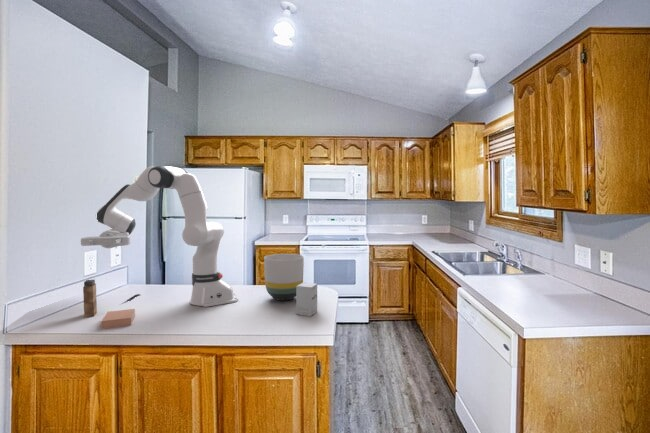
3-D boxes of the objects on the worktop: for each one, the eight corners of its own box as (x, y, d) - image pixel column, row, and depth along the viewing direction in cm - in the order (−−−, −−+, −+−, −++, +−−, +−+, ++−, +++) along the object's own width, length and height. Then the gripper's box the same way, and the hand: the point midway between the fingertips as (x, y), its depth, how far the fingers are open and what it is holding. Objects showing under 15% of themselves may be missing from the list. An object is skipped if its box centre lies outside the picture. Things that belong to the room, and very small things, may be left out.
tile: (134, 308, 148) (130, 317, 137) (135, 316, 148) (131, 326, 137) (107, 311, 144) (101, 321, 133) (108, 319, 144) (101, 329, 133)
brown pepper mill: (96, 312, 152) (95, 279, 151) (94, 316, 147) (92, 281, 146) (87, 313, 150) (86, 279, 150) (84, 317, 146) (83, 282, 145)
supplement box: (311, 316, 147) (311, 287, 146) (295, 314, 149) (295, 285, 149) (317, 311, 154) (317, 283, 153) (302, 309, 156) (302, 281, 156)
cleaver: (154, 295, 181) (134, 295, 180) (154, 294, 181) (134, 294, 180) (125, 313, 152) (102, 313, 151) (125, 312, 152) (102, 312, 151)
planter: (298, 292, 185) (298, 252, 184) (308, 302, 166) (308, 258, 165) (262, 295, 179) (261, 254, 178) (267, 306, 160) (267, 261, 159)
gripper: (84, 233, 168) (76, 236, 155) (132, 232, 176) (127, 234, 163) (85, 246, 168) (76, 250, 156) (132, 244, 176) (128, 248, 163)
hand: (103, 242), depth 159 cm, fingers open, 8 cm apart
